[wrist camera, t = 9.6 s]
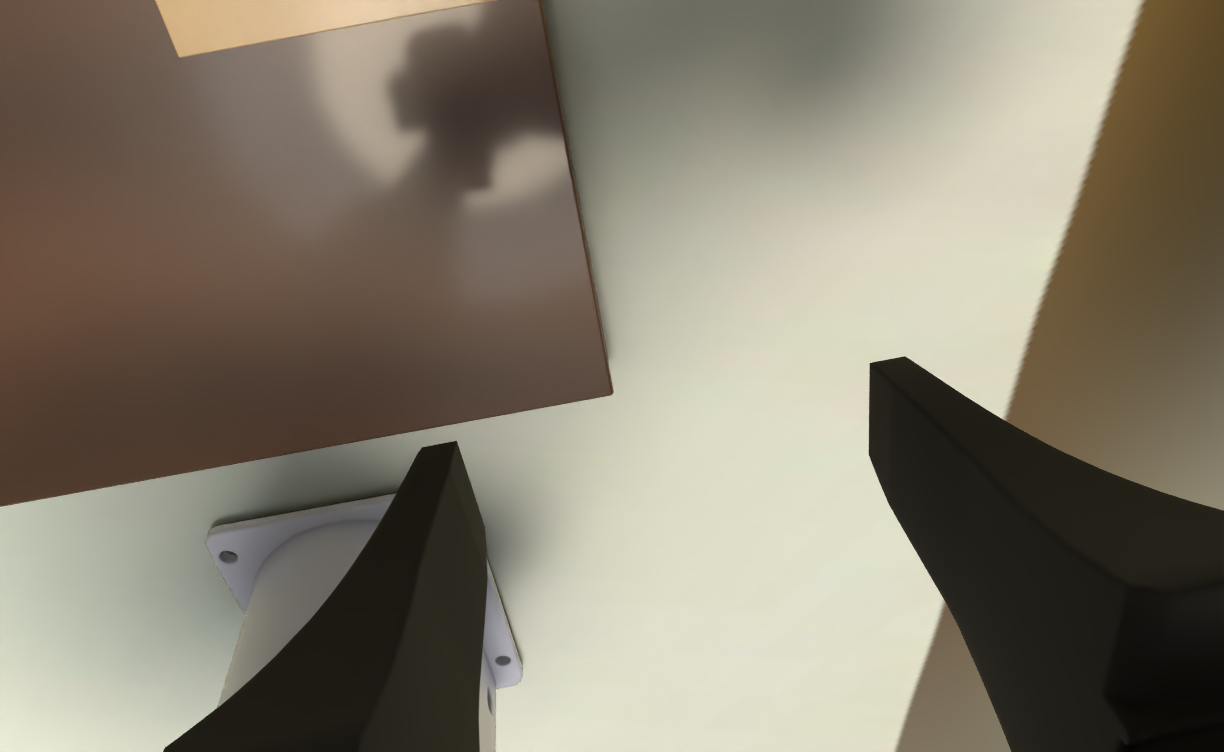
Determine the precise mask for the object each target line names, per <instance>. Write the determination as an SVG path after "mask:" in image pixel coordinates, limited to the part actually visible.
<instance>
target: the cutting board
mask: <svg viewBox="0 0 1224 752" xmlns="http://www.w3.org/2000/svg"><path fill="white" fill-rule="evenodd" d="M612 394H613V386H612V380H611V375H610V369H609V364H608V358H607V353H606V347H605V342H604V336H603V331H602V325H601V320H600V314H599V309H598V303H597V298H596V292H595V287H594V281H593V276H592V270H591V265H590V259H589V254H588V248H587V243H586V237H585V232H584V226H583V221H582V215H581V210H580V204H579V199H578V193H577V188H576V182H575V177H574V171H573V166H572V160H571V155H570V149H569V144H568V138H567V133H566V127H565V122H564V116H563V111H562V105H561V100H560V94H559V89H558V83H557V78H556V72H555V67H554V61H553V56H552V50H551V45H550V39H549V34H548V29H547V23H546V18H545V12H544V7H543V1H542V0H0V507H2V506H7V505H13V504H18V503H24V502H29V501H35V500H40V499H46V498H51V497H57V496H62V495H68V494H73V493H79V492H84V491H90V490H95V489H101V488H106V487H112V486H117V485H122V484H128V483H133V482H139V481H144V480H150V479H155V478H161V477H166V476H172V475H177V474H183V473H188V472H194V471H199V470H205V469H210V468H216V467H221V466H227V465H232V464H238V463H243V462H248V461H254V460H259V459H265V458H270V457H276V456H281V455H287V454H292V453H298V452H303V451H309V450H314V449H320V448H325V447H331V446H336V445H342V444H347V443H353V442H358V441H364V440H369V439H374V438H380V437H385V436H391V435H396V434H402V433H407V432H413V431H418V430H424V429H429V428H435V427H440V426H446V425H451V424H457V423H462V422H468V421H473V420H479V419H484V418H490V417H495V416H500V415H506V414H511V413H517V412H522V411H528V410H533V409H539V408H544V407H550V406H555V405H561V404H566V403H572V402H577V401H583V400H588V399H594V398H599V397H605V396H610V395H612Z"/></svg>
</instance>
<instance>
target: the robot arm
mask: <svg viewBox="0 0 1224 752" xmlns="http://www.w3.org/2000/svg"><path fill="white" fill-rule="evenodd" d="M869 456H870V459H871V461H872V464H873V467H874V469H875V472H876V474H877V477H878V479H879V482H880V484H881V487H882V489H883V491H884V494H885V496H886V498H887V501H888V503H889V505H890V507H891V509H892V510H893V512H894V514H895V516H896V517H897V519H898V521H899V523H900V524H901V526H902V528H903V530H904V531H905V533H906V535H907V537H908V538H909V540H910V542H911V544H912V545H913V547H914V549H915V550H916V552H917V554H918V556H919V557H920V559H921V561H922V562H923V564H924V566H925V568H926V569H927V571H928V573H929V574H930V576H931V578H932V580H933V581H934V583H935V585H936V586H937V588H938V590H939V592H940V593H941V595H942V597H943V598H944V600H945V602H946V604H947V605H948V607H949V609H950V611H951V613H952V615H953V617H954V619H955V620H956V622H957V625H958V627H959V629H960V631H961V633H962V635H963V638H964V640H965V642H966V644H967V646H968V649H969V651H970V653H971V656H972V658H973V660H974V662H975V665H976V667H977V669H978V671H979V674H980V676H981V678H982V681H983V683H984V686H985V688H986V690H987V693H988V695H989V698H990V700H991V702H992V705H993V707H994V710H995V712H996V714H997V717H998V719H999V722H1000V724H1001V726H1002V729H1003V731H1004V734H1005V736H1006V739H1007V742H1008V744H1009V747H1010V749H1011V751H1012V752H1224V511H1223V510H1219V509H1216V508H1212V507H1209V506H1205V505H1202V504H1198V503H1194V502H1191V501H1188V500H1185V499H1181V498H1178V497H1175V496H1172V495H1169V494H1166V493H1163V492H1160V491H1157V490H1154V489H1152V488H1149V487H1146V486H1143V485H1140V484H1138V483H1135V482H1132V481H1130V480H1127V479H1124V478H1122V477H1119V476H1117V475H1114V474H1112V473H1109V472H1107V471H1104V470H1102V469H1099V468H1097V467H1095V466H1093V465H1090V464H1088V463H1086V462H1084V461H1082V460H1079V459H1077V458H1075V457H1073V456H1071V455H1068V454H1066V453H1064V452H1062V451H1060V450H1058V449H1056V448H1053V447H1052V446H1050V445H1048V444H1046V443H1044V442H1042V441H1040V440H1039V439H1037V438H1035V437H1033V436H1031V435H1029V434H1028V433H1026V432H1024V431H1022V430H1020V429H1018V428H1017V427H1015V426H1013V425H1011V424H1010V423H1008V422H1006V421H1005V420H1003V419H1001V418H999V417H998V416H996V415H994V414H993V413H991V412H989V411H988V410H986V409H985V408H983V407H981V406H980V405H978V404H977V403H975V402H973V401H972V400H970V399H969V398H967V397H966V396H964V395H963V394H961V393H960V392H958V391H956V390H955V389H953V388H952V387H950V386H949V385H947V384H946V383H944V382H943V381H941V380H940V379H938V378H937V377H935V376H934V375H932V374H931V373H929V372H928V371H926V370H925V369H923V368H922V367H920V366H919V365H917V364H916V363H914V362H913V361H911V360H910V359H908V358H907V357H899V358H894V359H889V360H883V361H878V362H873V363H870V390H869ZM205 545H206V548H207V550H208V552H209V553H210V555H211V557H212V559H213V560H214V562H215V564H216V566H217V567H218V569H219V571H220V573H221V574H222V576H223V578H224V580H225V581H226V583H227V585H228V587H229V588H230V590H231V592H232V594H233V595H234V597H235V599H236V601H237V602H238V604H239V606H240V608H241V609H242V611H243V613H244V615H245V617H244V621H243V624H242V627H241V631H240V634H239V637H238V640H237V644H236V647H235V650H234V654H233V657H232V660H231V664H230V667H229V670H228V674H227V677H226V680H225V683H224V687H223V690H222V693H221V697H220V700H219V703H218V707H217V709H215V710H214V711H213V712H212V713H210V714H209V715H208V716H206V717H205V718H204V719H203V720H201V721H200V722H199V723H197V724H196V725H195V726H193V727H192V728H191V729H190V730H188V731H187V732H186V733H184V734H183V735H182V736H180V737H179V738H178V739H177V740H175V741H174V742H172V743H171V744H170V745H168V746H167V747H166V748H165V749H164V751H163V752H496V689H499V688H504V687H510V686H514V685H516V684H518V683H519V682H521V680H522V679H523V668H522V665H521V662H520V659H519V655H518V652H517V649H516V646H515V643H514V640H513V637H512V634H511V631H510V628H509V625H508V621H507V618H506V615H505V612H504V609H503V606H502V603H501V600H500V597H499V594H498V591H497V587H496V584H495V581H494V578H493V575H492V572H491V569H490V566H489V563H488V560H487V554H486V538H485V526H484V523H483V520H482V517H481V514H480V511H479V508H478V505H477V502H476V498H475V495H474V492H473V489H472V486H471V483H470V480H469V477H468V474H467V471H466V468H465V465H464V462H463V459H462V455H461V452H460V449H459V446H458V443H457V441H454V442H448V443H443V444H438V445H433V446H427V447H422V448H421V450H420V451H419V452H418V454H417V456H416V457H415V459H414V461H413V463H412V465H411V467H410V469H409V471H408V473H407V475H406V476H405V478H404V480H403V482H402V484H401V486H400V488H399V489H398V491H397V493H395V494H390V495H384V496H379V497H373V498H368V499H362V500H357V501H351V502H346V503H340V504H335V505H329V506H324V507H318V508H313V509H307V510H302V511H296V512H291V513H286V514H280V515H275V516H269V517H264V518H258V519H253V520H247V521H242V522H236V523H231V524H225V525H220V526H216V527H214V528H212V529H211V530H210V531H209V532H208V535H207V537H206V540H205ZM225 551H231V552H234V553H235V554H229V553H226V552H225Z"/></svg>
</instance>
